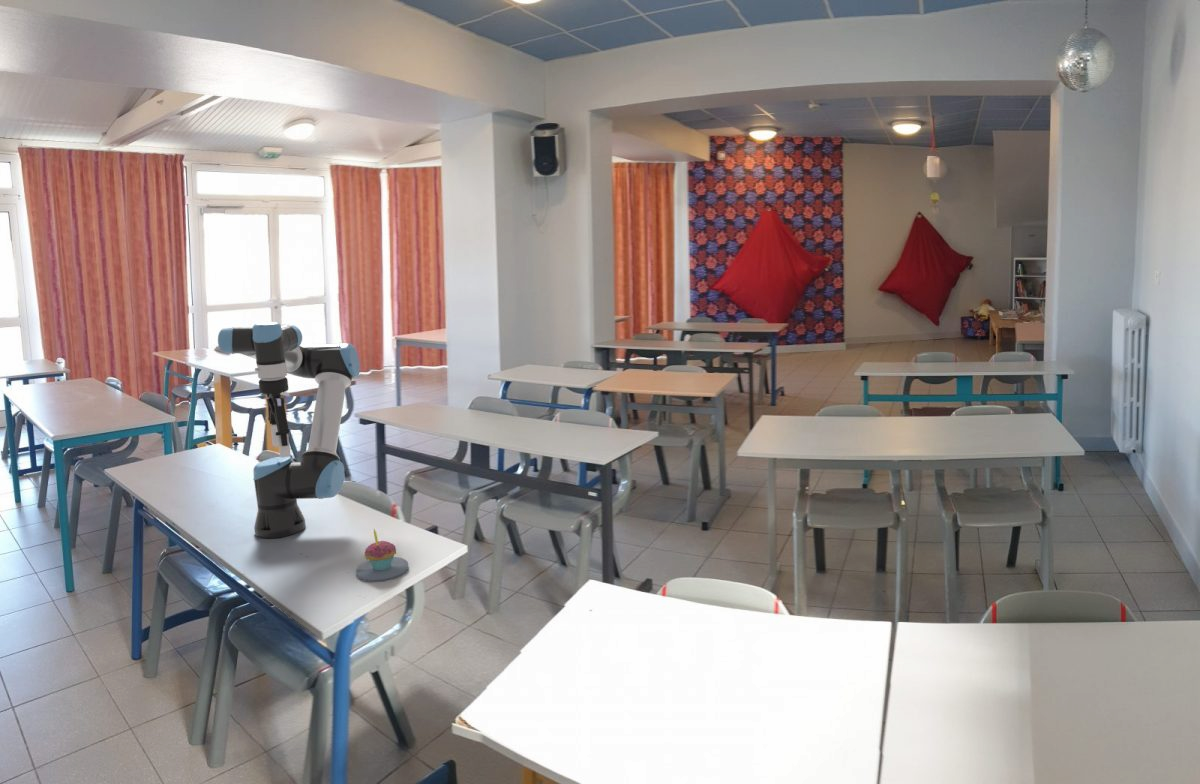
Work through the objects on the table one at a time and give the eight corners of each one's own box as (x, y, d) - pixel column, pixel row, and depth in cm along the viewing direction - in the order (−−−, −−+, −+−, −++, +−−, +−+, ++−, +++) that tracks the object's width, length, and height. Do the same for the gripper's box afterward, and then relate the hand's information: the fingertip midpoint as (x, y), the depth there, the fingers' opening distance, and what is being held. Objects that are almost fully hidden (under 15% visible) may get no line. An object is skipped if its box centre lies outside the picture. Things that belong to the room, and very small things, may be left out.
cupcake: (388, 574, 216) (384, 532, 213) (359, 572, 217) (355, 531, 215) (402, 561, 224) (399, 521, 221) (374, 559, 226) (370, 519, 223)
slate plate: (346, 579, 216) (345, 575, 216) (373, 559, 229) (372, 555, 229) (392, 583, 212) (392, 579, 212) (417, 562, 226) (417, 558, 225)
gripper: (252, 373, 232) (261, 444, 236) (264, 386, 211) (274, 463, 215) (279, 370, 236) (288, 440, 240) (294, 383, 214) (303, 459, 219)
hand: (281, 451), depth 227 cm, fingers open, 13 cm apart
